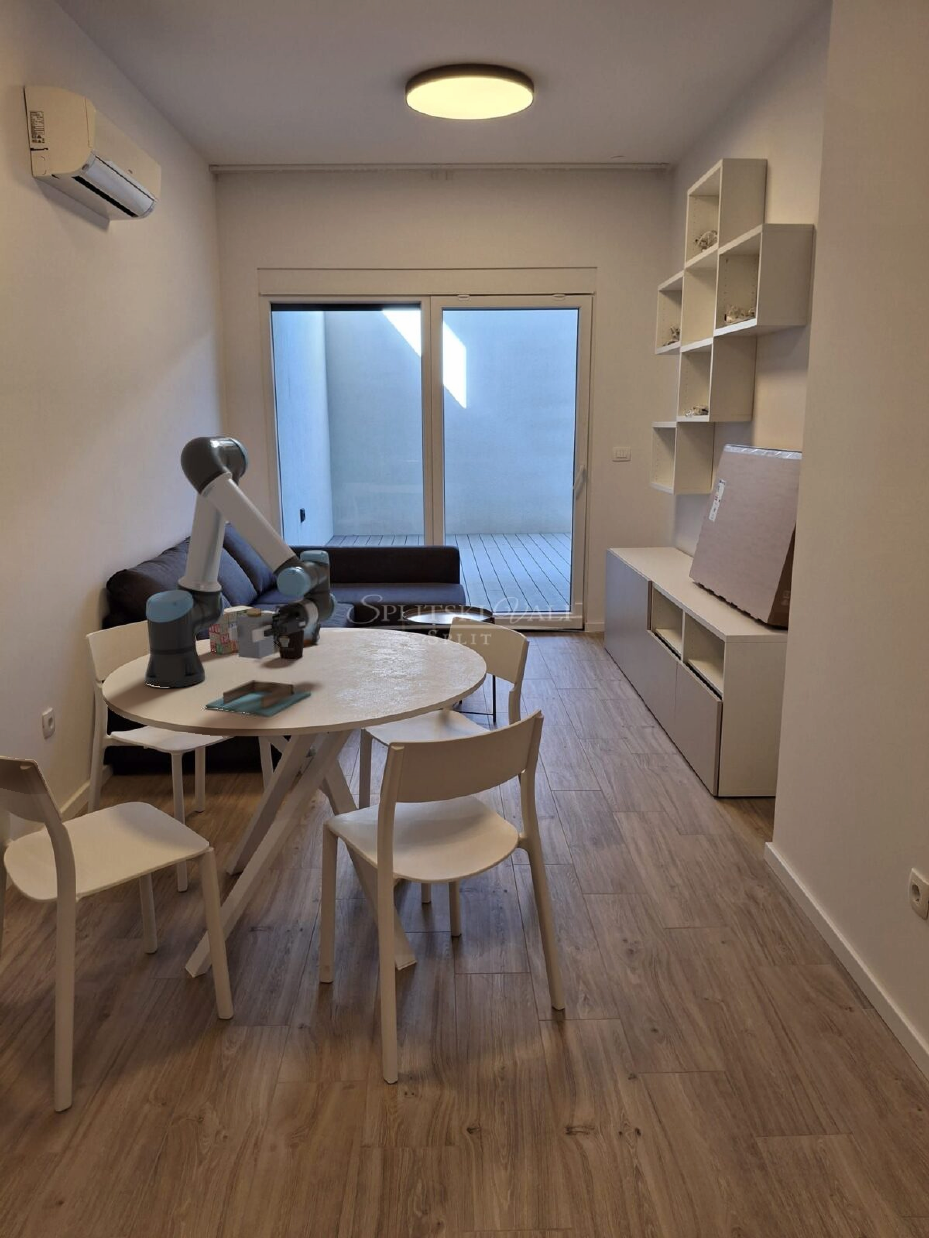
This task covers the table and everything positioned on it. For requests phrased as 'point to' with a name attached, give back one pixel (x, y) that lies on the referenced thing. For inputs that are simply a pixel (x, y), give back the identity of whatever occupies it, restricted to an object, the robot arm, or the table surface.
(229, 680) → the table surface
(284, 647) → the coffee mug
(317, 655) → the table surface
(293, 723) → the table surface
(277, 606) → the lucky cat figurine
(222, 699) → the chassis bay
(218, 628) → the stack of blocks
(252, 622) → the grey block with knob
